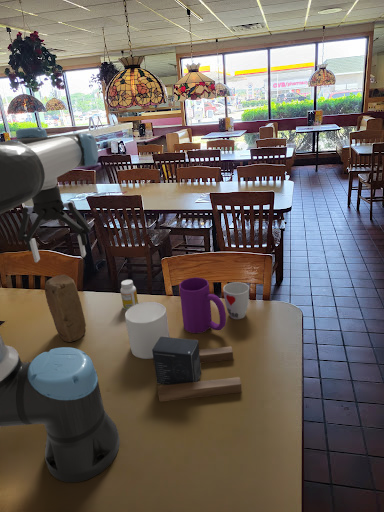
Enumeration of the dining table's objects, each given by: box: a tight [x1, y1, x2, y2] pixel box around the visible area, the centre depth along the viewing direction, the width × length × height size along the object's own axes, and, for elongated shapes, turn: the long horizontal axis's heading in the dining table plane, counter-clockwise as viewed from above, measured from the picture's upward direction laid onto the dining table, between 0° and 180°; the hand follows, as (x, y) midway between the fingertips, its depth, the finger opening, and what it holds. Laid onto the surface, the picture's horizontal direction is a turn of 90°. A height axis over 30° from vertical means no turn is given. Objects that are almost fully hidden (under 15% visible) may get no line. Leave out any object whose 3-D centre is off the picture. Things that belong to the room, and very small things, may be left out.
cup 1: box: [124, 301, 170, 360], centre depth 110 cm, size 12×12×12 cm
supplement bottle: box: [120, 279, 139, 311], centre depth 134 cm, size 5×5×10 cm
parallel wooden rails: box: [158, 345, 242, 402], centre depth 99 cm, size 15×20×2 cm
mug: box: [178, 277, 227, 334], centre depth 116 cm, size 9×16×15 cm, turn 51°
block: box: [44, 274, 87, 343], centre depth 118 cm, size 11×8×20 cm
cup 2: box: [223, 281, 250, 320], centre depth 122 cm, size 8×8×10 cm
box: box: [152, 336, 202, 386], centre depth 97 cm, size 11×7×10 cm, turn 73°
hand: (60, 258), depth 112 cm, fingers open, 13 cm apart
